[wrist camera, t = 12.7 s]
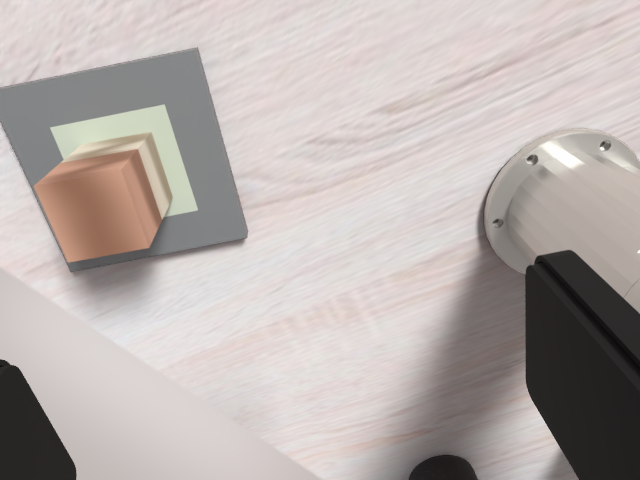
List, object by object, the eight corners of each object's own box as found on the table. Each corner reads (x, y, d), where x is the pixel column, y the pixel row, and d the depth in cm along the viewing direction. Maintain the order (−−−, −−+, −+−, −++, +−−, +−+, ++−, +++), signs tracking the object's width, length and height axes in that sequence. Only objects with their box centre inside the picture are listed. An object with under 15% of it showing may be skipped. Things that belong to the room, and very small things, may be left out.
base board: (197, 47, 35) (195, 49, 34) (248, 230, 42) (247, 237, 41) (-5, 88, 36) (-14, 92, 35) (76, 264, 42) (70, 272, 41)
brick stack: (151, 131, 37) (121, 170, 29) (173, 197, 39) (149, 247, 32) (81, 144, 37) (33, 186, 29) (106, 209, 39) (67, 262, 32)
